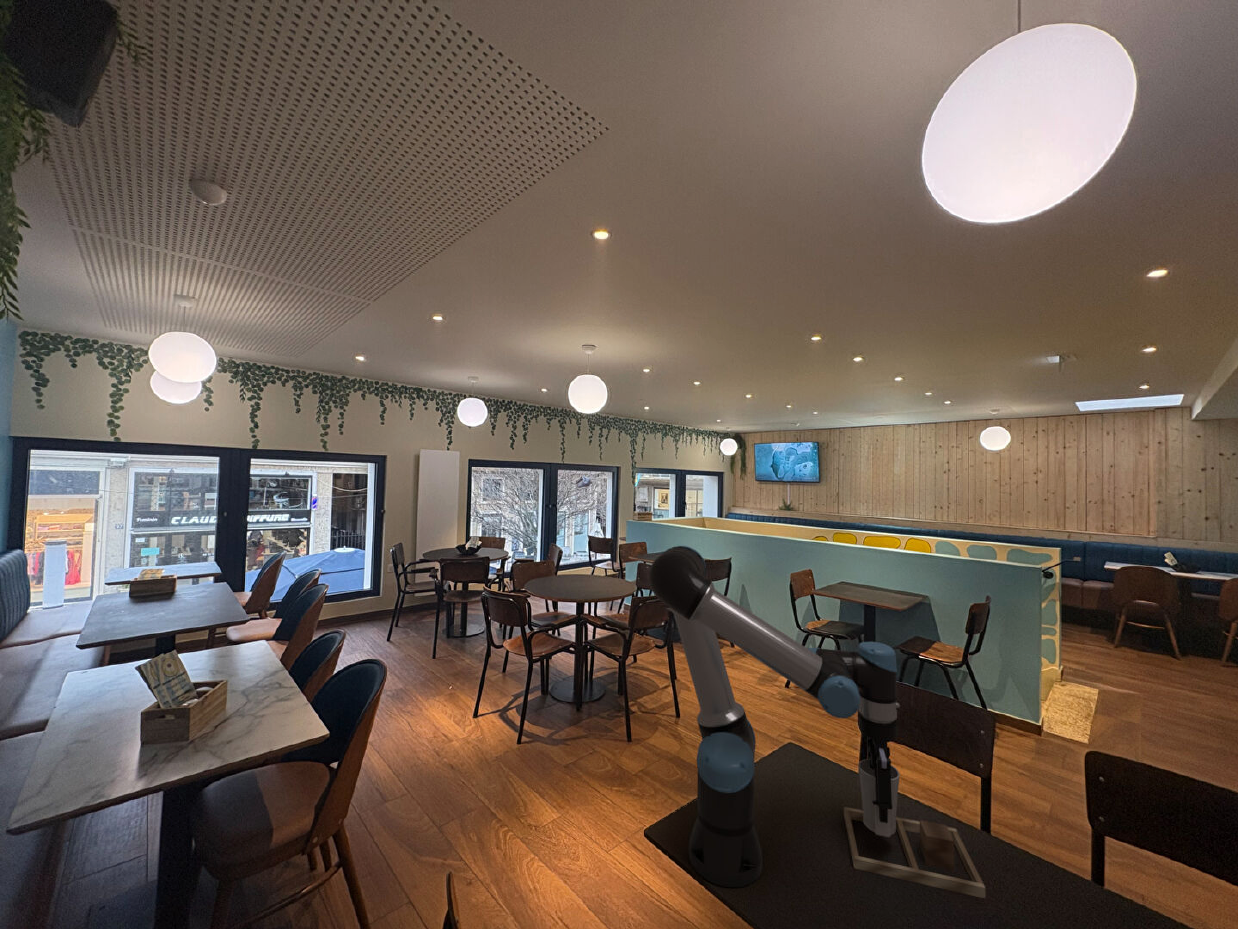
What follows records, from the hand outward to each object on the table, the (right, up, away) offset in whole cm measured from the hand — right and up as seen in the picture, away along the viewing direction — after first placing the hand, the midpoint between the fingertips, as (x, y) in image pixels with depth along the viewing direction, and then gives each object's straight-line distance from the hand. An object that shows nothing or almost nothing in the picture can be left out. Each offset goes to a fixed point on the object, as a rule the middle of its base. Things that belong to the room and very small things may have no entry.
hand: (879, 822), depth 109 cm
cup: (0, -1, 0) cm, 1 cm away
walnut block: (+10, -5, -4) cm, 12 cm away
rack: (+5, -5, -2) cm, 7 cm away
